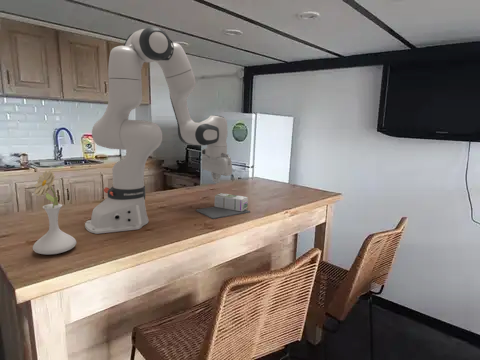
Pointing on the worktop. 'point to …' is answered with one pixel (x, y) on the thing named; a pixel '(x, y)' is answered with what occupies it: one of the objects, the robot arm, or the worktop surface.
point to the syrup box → (231, 202)
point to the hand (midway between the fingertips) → (215, 182)
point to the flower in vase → (51, 221)
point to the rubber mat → (219, 212)
